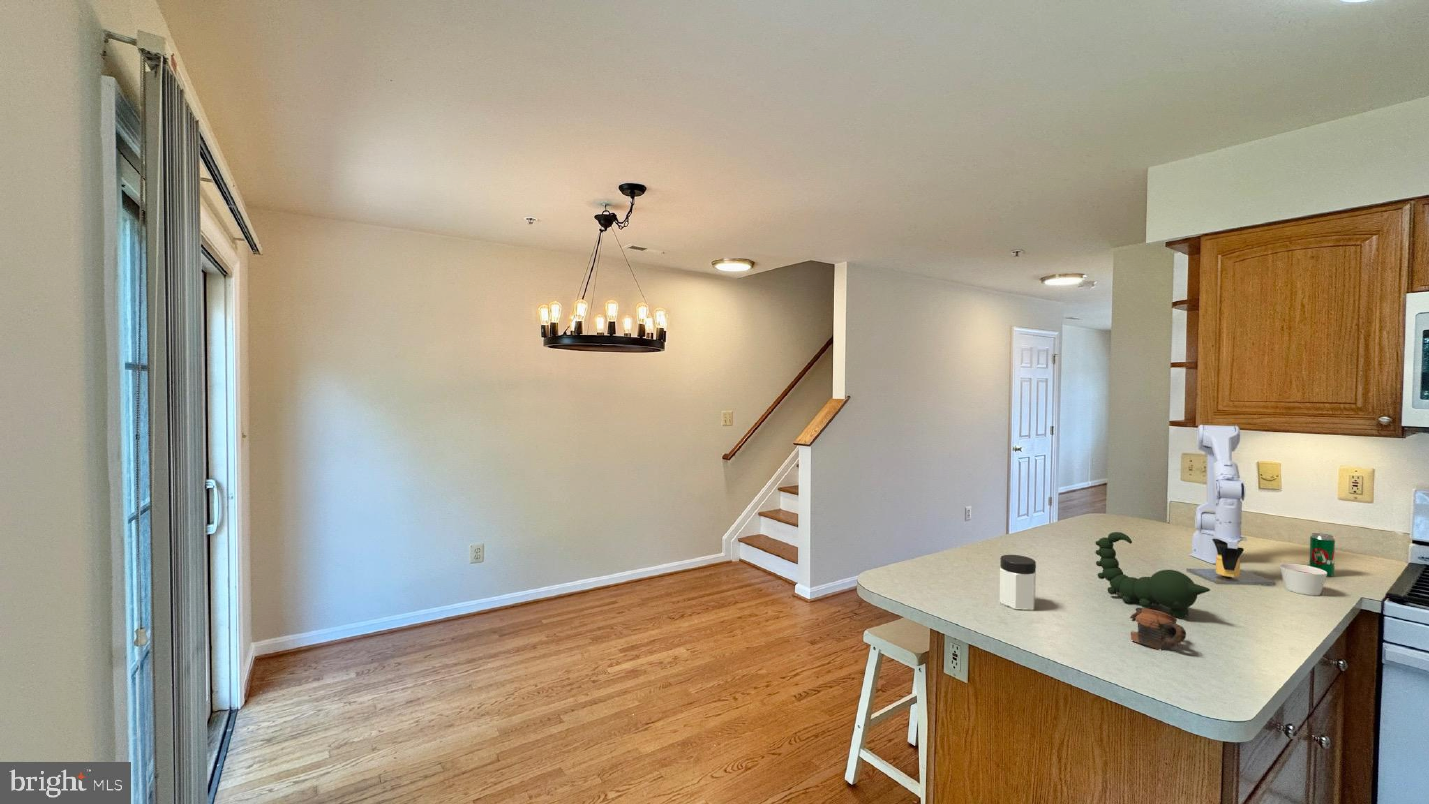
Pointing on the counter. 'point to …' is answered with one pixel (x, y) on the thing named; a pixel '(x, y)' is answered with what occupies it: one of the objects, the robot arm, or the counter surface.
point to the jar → (1017, 581)
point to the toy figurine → (1147, 582)
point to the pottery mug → (1156, 629)
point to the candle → (1303, 578)
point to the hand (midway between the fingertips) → (1226, 567)
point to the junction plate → (1220, 579)
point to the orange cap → (1224, 572)
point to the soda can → (1322, 552)
